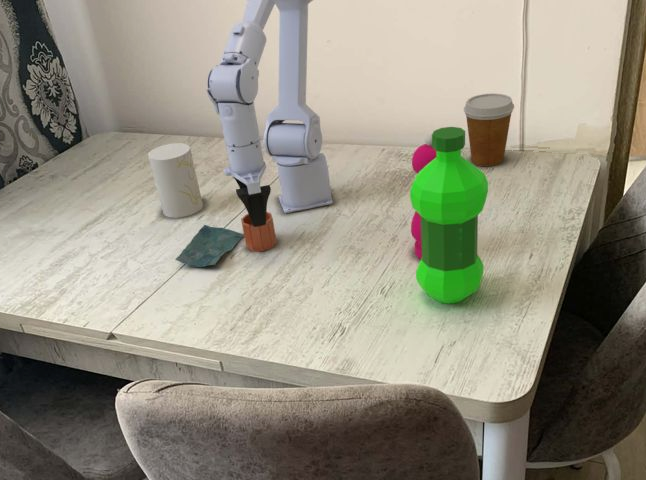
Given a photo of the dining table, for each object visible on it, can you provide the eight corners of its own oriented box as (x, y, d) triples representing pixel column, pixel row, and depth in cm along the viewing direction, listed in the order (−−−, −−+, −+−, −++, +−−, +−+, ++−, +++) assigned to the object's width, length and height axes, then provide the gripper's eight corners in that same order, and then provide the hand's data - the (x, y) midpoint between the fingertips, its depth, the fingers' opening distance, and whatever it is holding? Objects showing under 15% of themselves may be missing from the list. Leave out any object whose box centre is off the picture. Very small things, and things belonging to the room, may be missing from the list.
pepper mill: (428, 268, 117) (425, 147, 105) (403, 250, 122) (397, 135, 110) (465, 253, 119) (465, 134, 107) (438, 237, 124) (436, 122, 113)
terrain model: (206, 232, 136) (204, 223, 135) (244, 236, 134) (243, 227, 133) (175, 268, 127) (173, 258, 126) (216, 272, 125) (214, 263, 123)
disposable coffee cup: (475, 148, 153) (476, 91, 146) (519, 154, 148) (522, 94, 141) (455, 166, 147) (455, 107, 140) (500, 172, 142) (502, 111, 135)
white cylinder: (195, 217, 143) (181, 159, 136) (157, 218, 145) (141, 160, 138) (208, 198, 149) (195, 142, 142) (171, 200, 151) (156, 144, 144)
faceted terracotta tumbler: (273, 234, 133) (269, 208, 130) (278, 248, 128) (274, 221, 125) (244, 240, 132) (239, 214, 129) (248, 254, 128) (243, 228, 125)
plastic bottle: (411, 279, 114) (404, 123, 100) (479, 273, 113) (483, 115, 99) (417, 315, 106) (411, 151, 92) (491, 309, 105) (496, 142, 91)
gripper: (214, 130, 125) (229, 203, 133) (223, 161, 113) (238, 238, 121) (254, 122, 125) (267, 195, 133) (267, 152, 113) (280, 230, 122)
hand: (256, 215), depth 127 cm, fingers open, 7 cm apart
